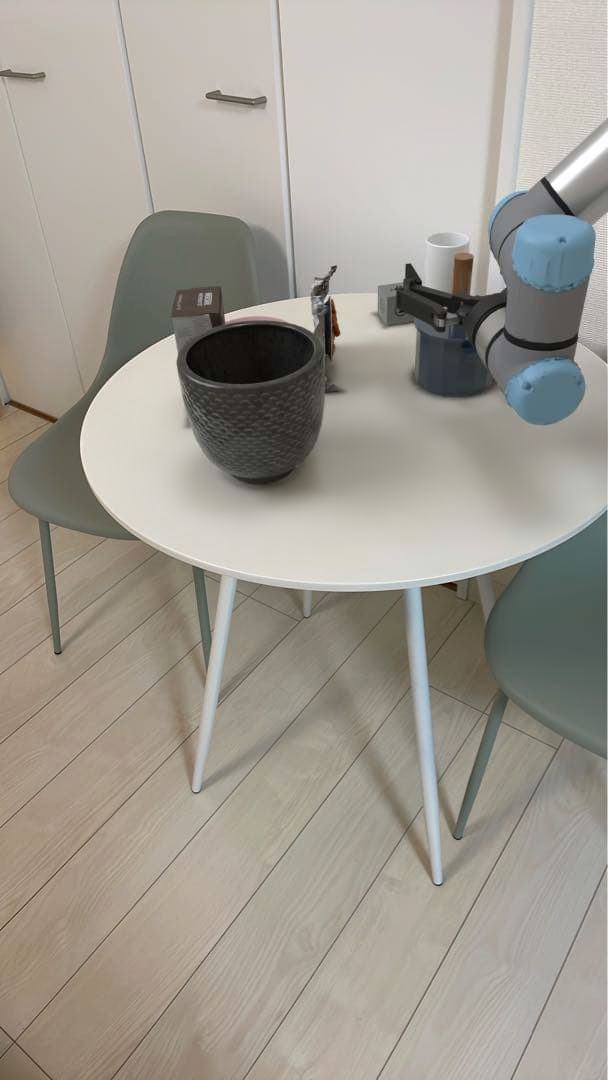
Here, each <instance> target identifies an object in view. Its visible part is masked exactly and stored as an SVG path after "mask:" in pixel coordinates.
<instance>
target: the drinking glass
mask: <svg viewBox="0 0 608 1080" xmlns="http://www.w3.org/2000/svg"><path fill="white" fill-rule="evenodd" d="M424 243H425V244H424V254H423V286H425V287H429V288H432V289H436V290H439V291H443V292H446V293H450V294H451V289H452V276H453V263H454V255H455V254H458V253H470V249H471V248H470V246H471V244H470V243H471V238H470V237H469V236H468V235H466V234H464V233H461V232H455V231H439V232H435V233H432V234H428V236H426V238H425V242H424Z"/></svg>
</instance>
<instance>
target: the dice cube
mask: <svg viewBox="0 0 608 1080" xmlns="http://www.w3.org/2000/svg"><path fill="white" fill-rule="evenodd" d="M399 287H403V281H402V282H401V281H400V282H395V283H387V284H380V285H377V315H378V317H379V318H380V320H381V321H382V322H383V323H384V325H385V327H389V326H396V325H397V326H398V325H403V324H408V323H414V318H415V317H414V316H412V315H410V314H408V313H406V312H404V311H402V310H400V309H398V308H396V289H397V288H399Z"/></svg>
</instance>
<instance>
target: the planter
mask: <svg viewBox="0 0 608 1080" xmlns="http://www.w3.org/2000/svg"><path fill="white" fill-rule="evenodd" d="M287 322H288V321H286V322H280V321H270V320H252V321H242V322H235V323H230V324H225V325H222V326H218V327H215V328H212V329H209V330H207V331H205V332H203V333H200V334H198V335H197V336H195V337H194V338H192V339H191V340H189V341H188V342H187V343H186V344H185V345H184V346H183V347H182V349H181V350H180V352H179V354H178V353H177V358H176V370H177V376H178V381H179V385H180V386H179V387H180V391H181V397H182V402H183V404H184V407H185V412H186V416H187V418H188V419H187V420H188V422H189V425H190V429H191V431H192V434H193V437H194V439H195V440H196V442H197V445H198V446H199V449H200V450H201V452H202V453H203V454H204V455H205V456H206V458H207V459H208V460H209V461H210V462H211V463H212V464H213V465H215V466H216V467H217V468H219V469H220V470H222V471H224V472H225V473H227V474H230V475H231V476H232V477H233V478H234V479H235V480H238V481H239V482H242V483H246V484H251V485H268V484H273V483H276V482H279V481H281V480H283V479H285V478H286V477H288V476H289V475H291V474H292V473H293V472H294V471H295V469H296V468H297V467H298V466H299V465H300V464H301V463H303V462H304V461H305V460H306V459H307V458H308V457H309V455H310V454H311V452H312V451H313V450H314V448H315V446H316V444H317V442H318V439H319V437H320V434H321V430H322V426H323V420H324V413H325V400H326V392H325V377H326V376H325V375H326V357H325V356H324V349H323V345H322V343H321V341H320V339H319V338H318V337H317V336H316V335H315V334H313V332H312V331H311V330H309V329H307V328H305V327H303V326H300V325H298V324H294V323H290V322H288V323H287Z"/></svg>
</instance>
